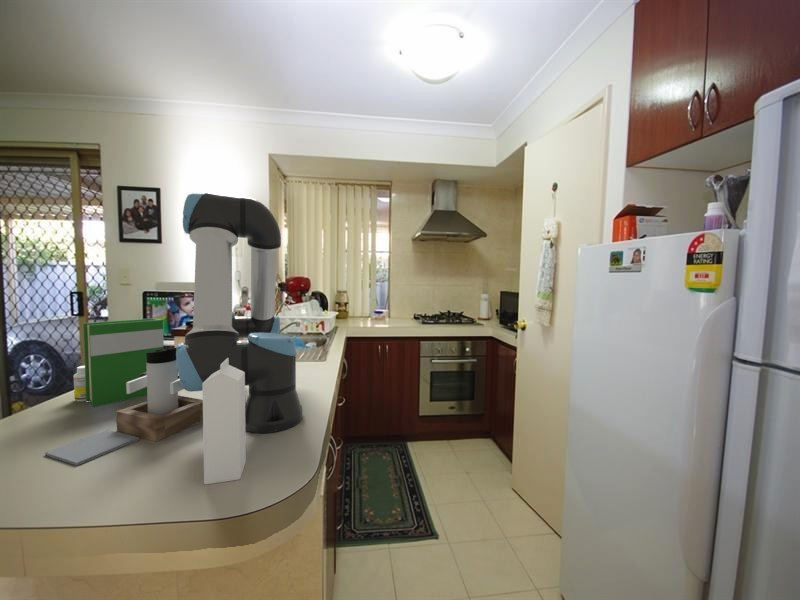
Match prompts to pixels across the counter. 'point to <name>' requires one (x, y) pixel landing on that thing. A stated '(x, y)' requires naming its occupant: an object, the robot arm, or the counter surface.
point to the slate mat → (91, 447)
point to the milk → (224, 424)
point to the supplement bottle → (80, 384)
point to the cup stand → (159, 419)
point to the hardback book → (118, 357)
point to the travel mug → (161, 381)
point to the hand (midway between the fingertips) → (149, 388)
